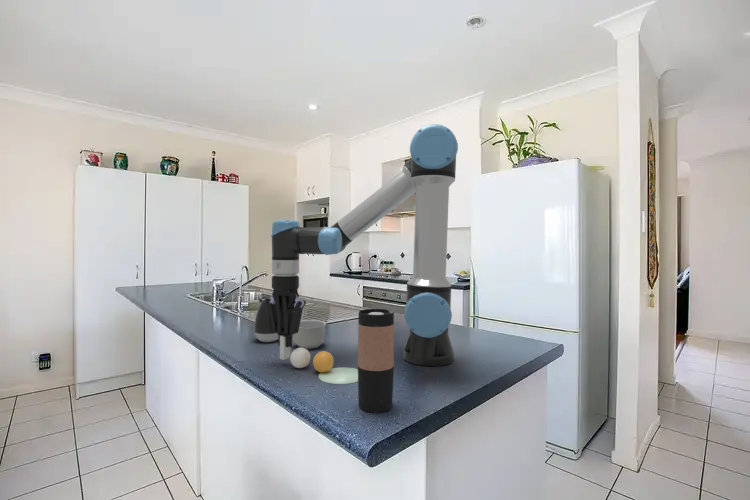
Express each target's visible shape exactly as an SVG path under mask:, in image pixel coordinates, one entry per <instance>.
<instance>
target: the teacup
mask: <svg viewBox="0 0 750 500" xmlns="http://www.w3.org/2000/svg"><path fill="white" fill-rule="evenodd" d="M326 325H327V323H326V322H325V321H322V320H318V319H303V320H302V319H301V321H300V326H299V330H298V333H295V334H293V335H292V342H294V344H295V345H297V346H298V348H305V349H307V350H313V349H317V348H319V347H320V346H321V345H322V344H323V343H324V342H325V339H326Z"/></svg>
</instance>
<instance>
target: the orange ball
mask: <svg viewBox="0 0 750 500" xmlns="http://www.w3.org/2000/svg"><path fill="white" fill-rule="evenodd" d="M334 361H335V360H334V357H333V355H332V354H331V353H330V352H328V351H326V350H325V351H324V350H323V351H318V352H317V353H316V354H315V355H314V357H313V360H312V365H313V367H314V369H315V371H316V372H319V373H324V372H328V371H329V370H330V369H331V368H334V367H333V366H334V364H335V363H334Z"/></svg>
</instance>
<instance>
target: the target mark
mask: <svg viewBox="0 0 750 500" xmlns="http://www.w3.org/2000/svg"><path fill="white" fill-rule="evenodd" d="M318 379H319V380H320V381H321V382H324V383H326V384H332V385H349V384H354V383H358V368H355V367H347V366H345V367H343V366H342V367H332V368H331V369H330V370H329V371H328V372H324V373H321V372H319V374H318Z"/></svg>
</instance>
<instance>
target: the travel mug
mask: <svg viewBox="0 0 750 500" xmlns="http://www.w3.org/2000/svg"><path fill="white" fill-rule="evenodd" d="M394 317H395V312H394V311H393V312H390V310H389V309H385V308H368V309H367V308H366V309H361V310H359V311H358V327H357V328H358V329H357V333H358V334H357V342H358V343H357V369H358V382H357V389H358V392H357V393H358V395H357V397H358V407H359V409H360V410H362V411H364V412H366V413H370V414H371V413H372V414H378V413H379V412H381V413H385V411H386V412H388V411H390V410H391V408H393V400H394V399H393V397H394V396H393V395H394V394H393V393H394V375H395V374H394V372H395V361H394V360H395V359H394V358H395V356H394V355H395V351H394V350H395V341H394V340H395V337H394V335H395V333H394V332H395V331H394V330H395V326H394V325H395V321H394V319H395V318H394ZM389 409H390V410H389ZM387 410H388V411H387ZM379 414H380V413H379Z"/></svg>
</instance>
